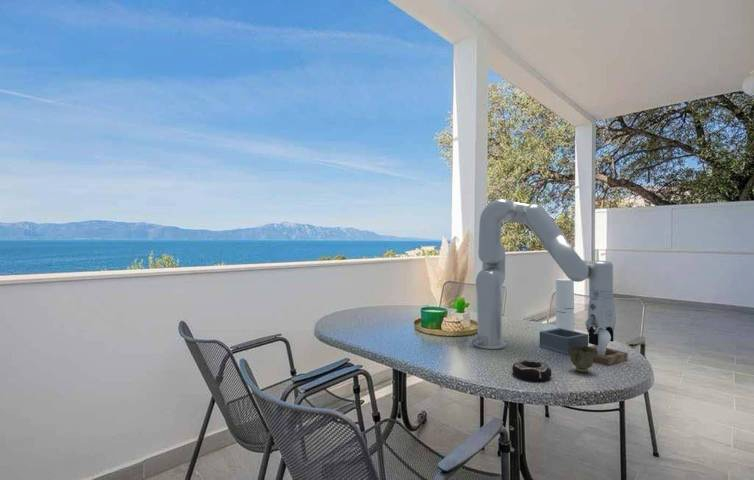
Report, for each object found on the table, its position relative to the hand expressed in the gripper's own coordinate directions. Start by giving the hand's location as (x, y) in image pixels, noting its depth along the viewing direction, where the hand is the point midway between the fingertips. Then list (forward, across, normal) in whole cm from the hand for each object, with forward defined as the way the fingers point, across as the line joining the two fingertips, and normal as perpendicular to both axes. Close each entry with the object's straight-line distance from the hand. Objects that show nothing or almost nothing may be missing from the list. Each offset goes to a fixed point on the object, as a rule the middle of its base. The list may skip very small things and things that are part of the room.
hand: (601, 342), depth 142 cm
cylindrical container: (+6, +18, +27) cm, 33 cm away
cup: (+6, -19, -5) cm, 21 cm away
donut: (+6, -36, +1) cm, 37 cm away
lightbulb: (+6, 0, 0) cm, 6 cm away
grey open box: (+6, 0, +15) cm, 16 cm away
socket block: (+6, 0, 0) cm, 6 cm away
